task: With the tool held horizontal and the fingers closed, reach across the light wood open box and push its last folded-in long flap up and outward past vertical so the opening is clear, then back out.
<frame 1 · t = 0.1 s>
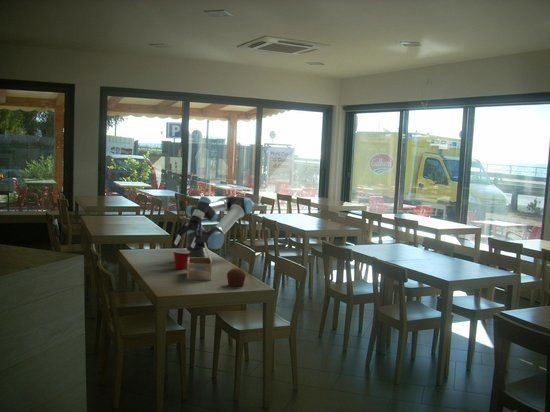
hand: (183, 245, 370), 15 cm above the table, tool tilted 35°, fingers open, 13 cm apart
flap: (208, 252, 353), point 15 cm above the table, hinge at -25.0°
muffin: (235, 286, 335), on the table
plastic cup: (180, 268, 374), on the table
light wood open box: (199, 276, 353), on the table
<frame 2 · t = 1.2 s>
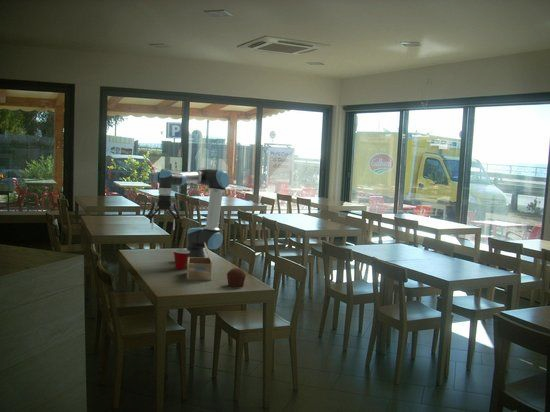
hand: (163, 229, 356), 27 cm above the table, tool pointing down, fingers open, 12 cm apart
nothing on the table moved.
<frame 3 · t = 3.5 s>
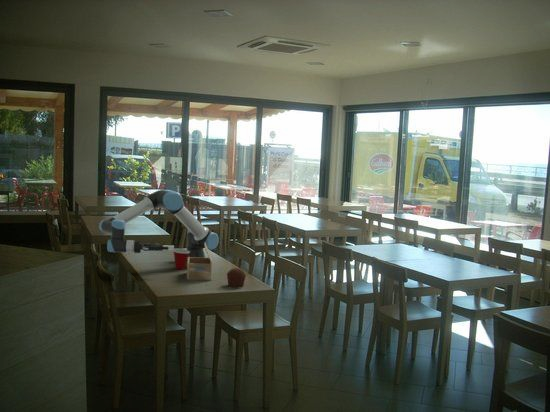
hand: (173, 248, 350), 17 cm above the table, tool horizontal, fingers closed
nothing on the table moved.
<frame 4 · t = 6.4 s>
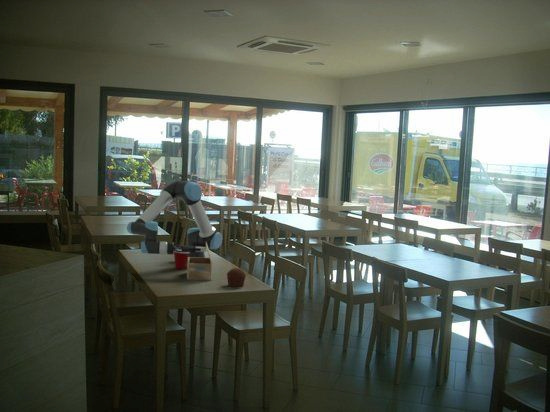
hand: (206, 249, 352), 17 cm above the table, tool horizontal, fingers closed
flap: (208, 252, 353), point 15 cm above the table, hinge at -20.4°, touching gripper
everything else where it was.
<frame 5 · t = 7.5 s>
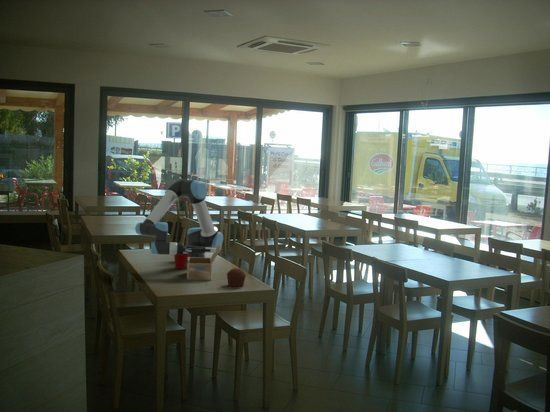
hand: (215, 250, 352), 17 cm above the table, tool horizontal, fingers closed
flap: (216, 253, 353), point 15 cm above the table, hinge at 29.4°, touching gripper
everything else where it was.
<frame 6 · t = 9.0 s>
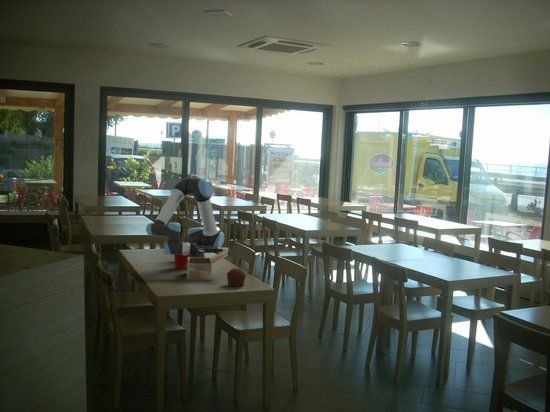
hand: (228, 250, 354), 17 cm above the table, tool horizontal, fingers closed
flap: (219, 256, 354), point 13 cm above the table, hinge at 61.8°
everything else where it was.
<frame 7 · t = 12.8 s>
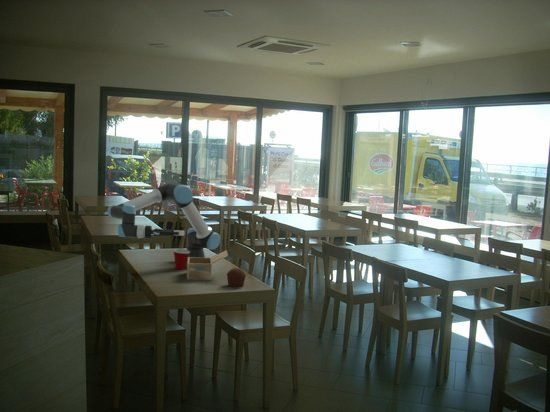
hand: (184, 233, 348), 27 cm above the table, tool horizontal, fingers closed
nothing on the table moved.
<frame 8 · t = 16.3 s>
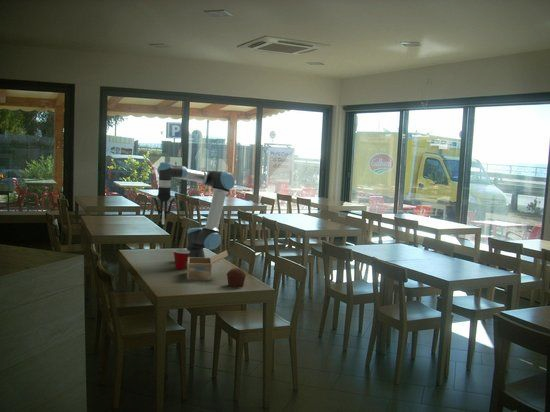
hand: (163, 224, 364), 29 cm above the table, tool pointing down, fingers closed
nothing on the table moved.
at the end: flap at +62° (first picture: -25°) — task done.
